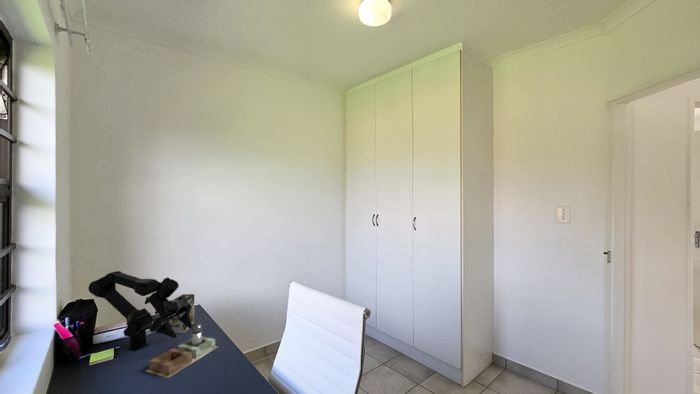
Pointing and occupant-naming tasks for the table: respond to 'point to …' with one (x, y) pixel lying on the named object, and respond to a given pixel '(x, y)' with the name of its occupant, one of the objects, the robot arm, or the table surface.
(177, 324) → the coffee box
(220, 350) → the table surface
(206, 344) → the wooden desk organizer
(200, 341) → the shiny grey rounded piece
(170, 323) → the long grey bar
